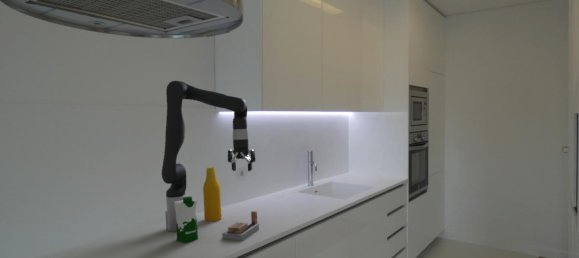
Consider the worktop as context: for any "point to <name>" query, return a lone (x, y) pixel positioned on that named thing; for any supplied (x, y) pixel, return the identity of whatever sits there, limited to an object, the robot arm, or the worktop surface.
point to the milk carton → (186, 220)
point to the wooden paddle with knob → (243, 225)
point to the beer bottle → (211, 197)
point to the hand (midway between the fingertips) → (242, 170)
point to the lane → (240, 236)
